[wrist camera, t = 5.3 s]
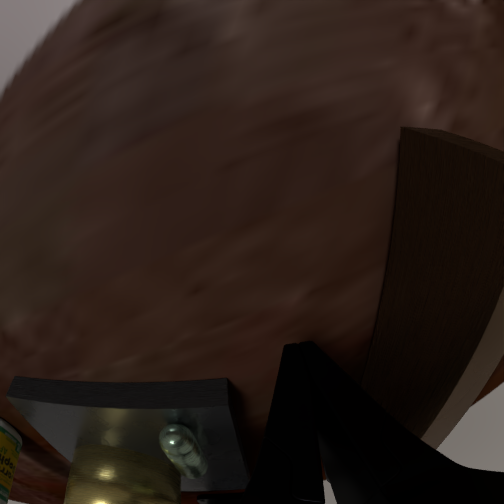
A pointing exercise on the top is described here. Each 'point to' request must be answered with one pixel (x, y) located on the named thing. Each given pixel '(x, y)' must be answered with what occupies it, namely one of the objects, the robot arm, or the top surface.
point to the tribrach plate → (137, 437)
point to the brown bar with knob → (440, 284)
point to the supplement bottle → (8, 457)
